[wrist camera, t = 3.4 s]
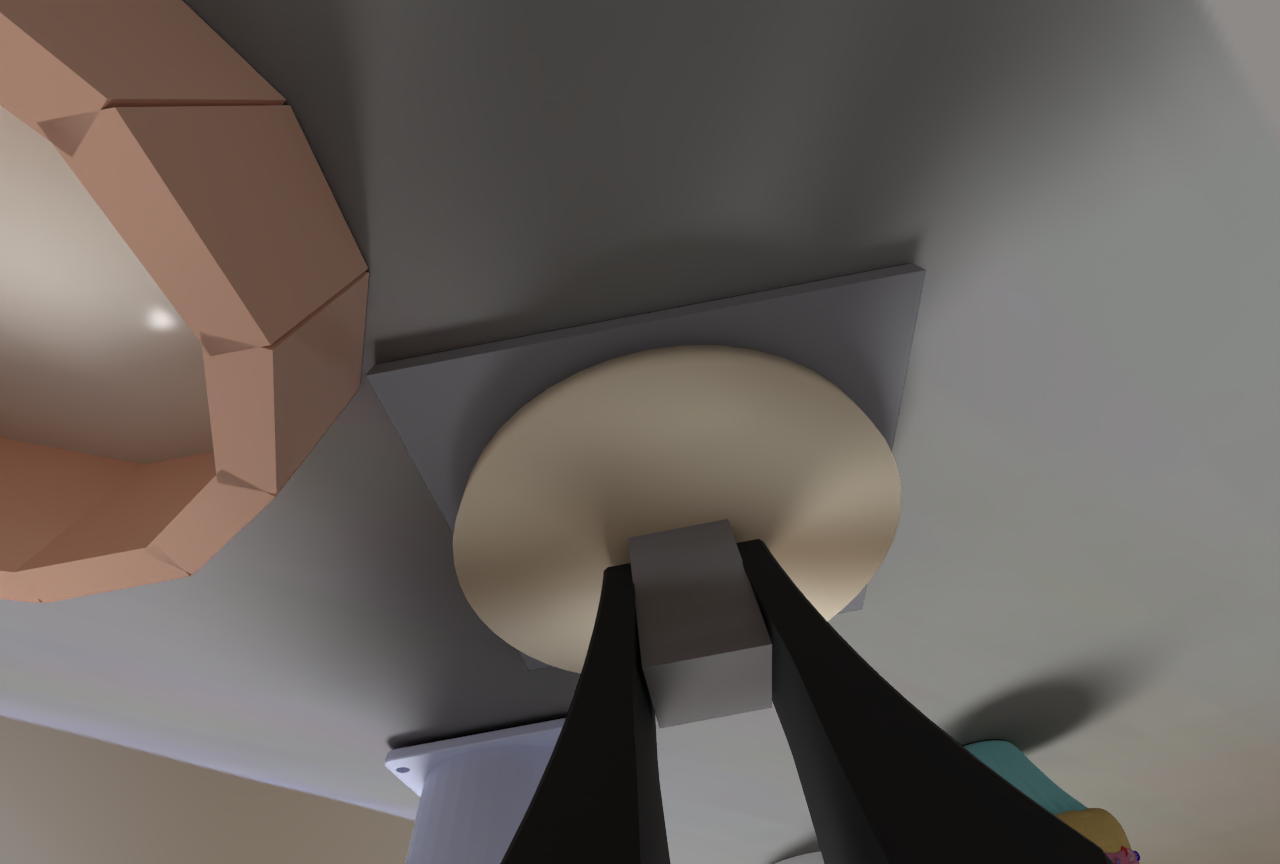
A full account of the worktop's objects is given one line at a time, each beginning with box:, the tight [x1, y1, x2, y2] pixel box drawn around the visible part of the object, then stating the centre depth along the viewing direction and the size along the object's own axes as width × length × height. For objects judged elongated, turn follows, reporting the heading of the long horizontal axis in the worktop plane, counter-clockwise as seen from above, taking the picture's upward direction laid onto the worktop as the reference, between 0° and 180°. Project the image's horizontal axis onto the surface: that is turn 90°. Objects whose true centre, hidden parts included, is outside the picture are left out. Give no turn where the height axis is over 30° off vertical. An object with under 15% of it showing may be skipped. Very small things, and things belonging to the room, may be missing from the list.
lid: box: [453, 345, 902, 728], centre depth 11 cm, size 11×11×4 cm
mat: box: [366, 263, 926, 671], centre depth 13 cm, size 12×12×1 cm
